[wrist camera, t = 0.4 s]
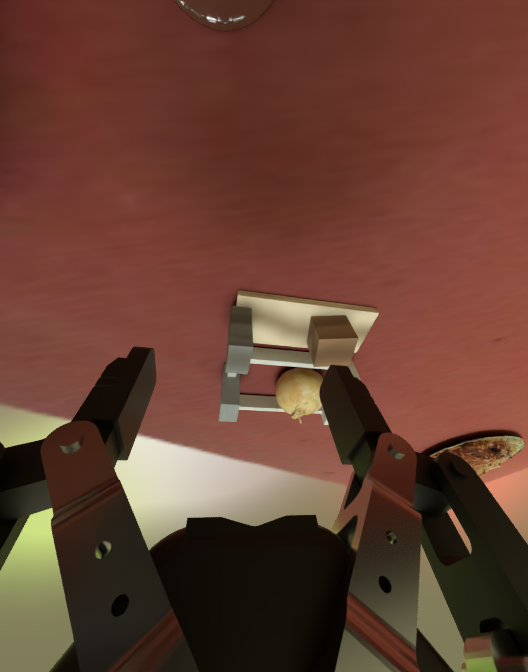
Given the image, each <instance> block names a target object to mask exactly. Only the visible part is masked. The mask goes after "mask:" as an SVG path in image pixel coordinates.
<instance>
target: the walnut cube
mask: <svg viewBox="0 0 528 672" xmlns="http://www.w3.org/2000/svg"><path fill="white" fill-rule="evenodd" d="M358 339H359V338H358V336H357V334H356V332H355V331H354V329H353V327H352V325H351V323H350V322H349V320H348V318H347V316H346V315H334V316H311V319H310V325H309V331H308V338H307V346H308V349H309V353H310V356H311V359H312V363H313V366H314V367H328V366H330V365H343V366H349V365H350V362H351V359H352V356H353V353H354V350H355V348H356V345H357V342H358Z"/></svg>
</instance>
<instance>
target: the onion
mask: <svg viewBox="0 0 528 672" xmlns="http://www.w3.org/2000/svg"><path fill="white" fill-rule="evenodd" d="M322 382H323V377H322V376H321V375H320V374H319V373H318V372H316V371H314V370H313V369H310V368H304V367H296V368H295V367H294V369H293V370H292V369H290V370H288V371H286V372H285V373H283V374H282V375H281V377H280V378H279V380H278V382H277V384H276V390H275V393H276V400H277V402H278V404H279V406H280V407H281V408H282V409H283V410H284V411H285V412H287V413H289V414H292V416H291V417H292V418H293V419H299V420H300V423H302V420H301V419H300V417H301V416H303V415H307V414H312V413H314V412H316V411H318V410H319V409H320V408H321V407H322V404H321V401H320V396H319V391H320V386H321V384H322Z"/></svg>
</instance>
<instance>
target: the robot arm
mask: <svg viewBox="0 0 528 672" xmlns="http://www.w3.org/2000/svg"><path fill="white" fill-rule="evenodd" d="M175 1H176V3H177V4H178V5H179V6H180V7H181V9H182V10H183V11H184V12H186V13H187V14H188V15H189V16H191V17H192V18H193V19H194V20H196V21H197V22H198V23H200V24H203V25H205V26H207V27H209V28H211V29H215V30H222V31H231V30H236V29H241V28H243V27H245V26H247V25H249V24H251V23H252V22H254V21H255V20H257V19H258V18H259V17H260V16H261V15H262V14H263V13H264V12H265V11H266V10H267V9H268V7H269V6H270V4H271V3H272V1H273V0H175ZM155 383H156V365H155V353H154V349H153V348H146V347H133V348H132V350H131V351H130V353H129V355H128V357H127V358H117V359H116V360H114V361H113V362H112V363H110V364H109V365H108V366H107V367H106V368H105V370H104V372H103V373H102V375H101V378H99V379H98V381H97V382H96V384H95V386H94V387H93V389H92V390H91V392H90V393H89V395H88V396H87V398H86V400H85V401H84V403H83V404H82V406H81V407H80V409H79V410H78V412H77V414H76V415H75V417H74V418H73V420H72V421H71V422H70V423H67V424H65V425H62V426H60V427H59V428H57V429H55V430H54V431H53V432H51V433H50V434H49V435H48V436H47V437H46V438H45V439H42V440H39V441H34V442H30V443H25V444H21V445H16V446H12V447H8V448H5V447H4V446H3V444H1V443H0V570H1V568H2V566H3V565H4V563H5V560H6V559H7V557H8V555H9V553H10V551H11V550H12V547H13V546H14V544H15V542H16V540H17V538H18V536H19V535H20V533H21V531H22V529H23V527H24V525H25V523H26V521H27V519H28V518H29V516H30V515H31V514H34V513H37V512H40V511H43V510H46V509H49V508H53V515H54V516H53V518H52V519H51V527H52V534H53V539H54V544H55V549H56V554H57V559H58V564H59V568H60V574H61V579H62V584H63V589H64V593H65V598H66V603H67V608H68V613H69V618H70V623H71V628H72V633H73V638H74V642H73V643H72V644H71V646H70V647H69V648H68V649H67V651H66V652H65V653H64V654H63V656H62V657H61V658H60V659H59V661H58V662H57V663H56V664H55V665H54V667H53V668H52V669H51V670H50V672H454V671H453V670H452V669H451V668H450V667H449V665H448V664H447V663H446V662H445V661H444V659H443V658H442V657H441V656H440V654H439V653H438V652H437V651H436V650H435V648H434V647H433V646H432V645H431V644H430V643H429V641H428V640H427V639H426V638H425V637H424V635H423V634H422V633H421V632H420V630H419V629H418V628H417V614H418V593H419V572H420V553H421V544H422V547H423V549H424V551H425V554H426V556H427V558H428V561H429V563H430V565H431V567H432V570H433V572H434V574H435V577H436V579H437V581H438V584H439V586H440V588H441V591H442V593H443V595H444V597H445V600H446V602H447V604H448V607H449V609H450V611H451V614H452V616H453V618H454V620H455V623H456V625H457V628H458V630H459V632H460V635H461V637H462V639H463V641H464V659H465V661H464V662H463V664H462V672H528V545H527V543H526V542H525V540H524V539H523V538H522V536H521V535H520V533H519V532H518V530H517V529H516V528H515V526H514V525H513V524H512V522H511V521H510V519H509V518H508V516H507V515H506V514H505V512H504V511H503V510H502V508H501V507H500V505H499V504H498V502H497V501H496V500H495V498H494V497H493V496H492V494H491V493H490V491H489V490H488V488H487V487H486V486H485V484H484V483H483V481H482V480H481V479H480V477H479V476H478V474H477V473H476V471H475V470H474V469H473V468H472V467H471V466H470V465H469V464H468V463H467V462H466V461H465V460H464V459H462V458H461V457H459V456H457V455H455V454H453V453H450V452H442V453H440V454H439V455H438V456H437V457H436V458H433V457H430V456H427V455H424V454H421V453H418V452H415V451H414V450H413V448H412V447H411V445H410V444H409V443H408V442H407V441H406V440H404V439H403V438H402V437H400V436H398V435H396V434H393V433H392V432H391V430H390V429H389V427H388V425H387V423H386V421H385V420H384V418H383V416H382V414H381V413H380V411H379V409H378V407H377V405H376V404H375V402H374V400H373V398H372V397H371V396H370V393H369V391H368V389H367V388H366V386H365V385H364V384H363V383H362V382H361V381H360V380H359V379H358V378H357V377H354V376H353V374H352V373H351V371H350V369H349V367H348V366H343V365H330V366H329V368H328V370H327V373H326V375H325V377H324V379H323V382H322V384H321V386H320V391H319V396H320V401H321V404H322V407H323V410H324V413H325V415H326V418H327V421H328V424H329V427H330V430H331V433H332V436H333V439H334V442H335V445H336V448H337V451H338V454H339V457H340V460H341V463H342V464H348V465H353V468H354V471H353V472H352V474H351V477H350V481H349V484H348V487H347V490H346V493H345V496H344V499H343V502H342V506H341V509H340V512H339V514H338V517H337V519H336V520H335V522H334V524H333V526H332V528H331V531H330V530H328V529H326V528H324V527H322V526H320V525H318V523H317V518H316V515H292V516H284V517H281V518H278V519H276V520H273V521H270V522H267V523H265V524H262V525H259V526H250V525H246V524H243V523H239V522H236V521H233V520H229V519H226V518H222V517H204V518H187V525H186V527H185V528H183V529H180V530H177V531H175V532H173V533H171V534H169V535H168V536H166V537H165V538H163V539H162V540H160V541H159V542H158V543H157V544H155V545H154V546H153V547H152V548H151V549H150V550H148V548H147V545H146V543H145V540H144V538H143V536H142V533H141V531H140V528H139V526H138V523H137V521H136V518H135V516H134V513H133V511H132V509H131V506H130V504H129V501H128V499H127V496H126V494H125V492H124V489H123V487H122V484H121V482H120V480H119V479H118V477H117V475H116V472H115V470H114V467H115V465H116V462H117V460H128V457H129V455H130V452H131V449H132V447H133V444H134V441H135V438H136V436H137V433H138V430H139V428H140V425H141V422H142V420H143V417H144V414H145V412H146V409H147V406H148V404H149V401H150V398H151V396H152V393H153V390H154V387H155ZM451 508H452V509H453V511H454V513H455V515H456V517H457V518H458V520H459V522H460V524H461V526H462V527H463V529H464V531H465V533H466V534H467V536H468V538H469V540H470V543H471V546H472V552H471V554H470V553H469V551H468V549H467V547H466V546H465V544H464V542H463V540H462V538H461V537H460V535H459V533H458V531H457V529H456V527H455V525H454V524H453V522H452V520H451V518H450V516H449V514H448V513H447V511H449V510H450V509H451Z"/></svg>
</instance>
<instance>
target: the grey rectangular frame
mask: <svg viewBox="0 0 528 672" xmlns="http://www.w3.org/2000/svg"><path fill="white" fill-rule="evenodd" d="M250 363H255V364H267V365H279V366H292V367H304V368H316V369H328V368H329V366H328V367H314V366H313V363H312V359H311V356H310V353H309V352H300V351H289V350H279V349H268V348H257V347H253V351H252V356H251V361H250ZM348 367H349V369H350V371H351V373H352V374H353V376H354V377H357V378H358V379H359V380H360V377H359V375H358V373H357V370H356V368H355V366H354V364H353V362H352V360H351V362H350V365H349V366H348ZM225 370H226V364H224V370H223V378H222V389H221V401H220V413H219V421H228V422H236V421H237V416H238V411H239V410H258V411H279V412H285V411H284V410H283V409H282V408H281V407H280V406H279V404H278V402H277V400H276V397H273V396H257V395H240V374H238V373H225ZM314 413H319V414H321V416H322V420H323V424H324V425H329V424H328V421H327V418H326V415H325V413H324V410H323V407H321V408H320V409H319V410H318V411H316V412H314Z"/></svg>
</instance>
